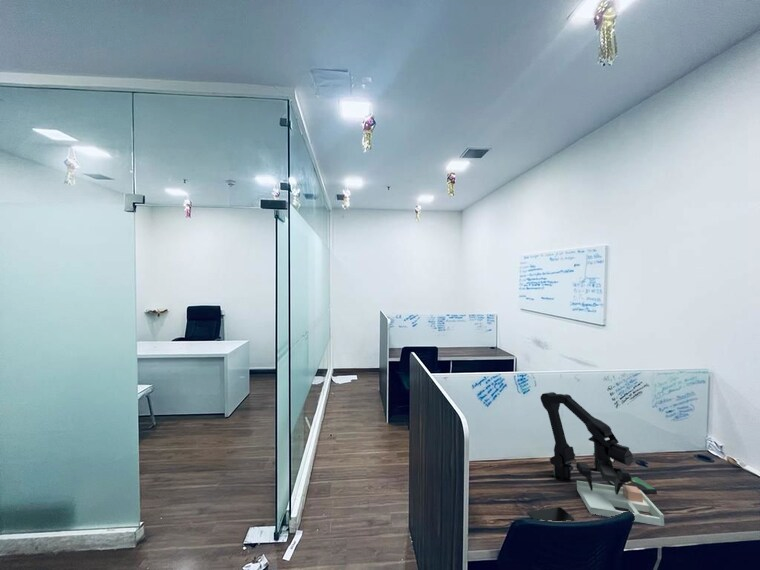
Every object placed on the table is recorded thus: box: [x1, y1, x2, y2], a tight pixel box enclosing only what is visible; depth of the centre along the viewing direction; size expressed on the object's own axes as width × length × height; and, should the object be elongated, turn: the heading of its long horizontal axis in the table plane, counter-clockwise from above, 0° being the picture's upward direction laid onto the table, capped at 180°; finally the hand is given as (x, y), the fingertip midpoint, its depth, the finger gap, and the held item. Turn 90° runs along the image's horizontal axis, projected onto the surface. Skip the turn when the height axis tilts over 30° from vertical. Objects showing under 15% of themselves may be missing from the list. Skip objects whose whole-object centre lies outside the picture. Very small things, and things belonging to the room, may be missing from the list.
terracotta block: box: [622, 485, 643, 502], centre depth 129 cm, size 5×5×4 cm
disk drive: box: [607, 476, 658, 495], centre depth 140 cm, size 10×3×15 cm
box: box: [576, 480, 665, 527], centre depth 127 cm, size 24×17×4 cm
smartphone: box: [526, 506, 576, 522], centre depth 121 cm, size 8×1×16 cm
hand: (603, 492), depth 132 cm, fingers open, 9 cm apart
